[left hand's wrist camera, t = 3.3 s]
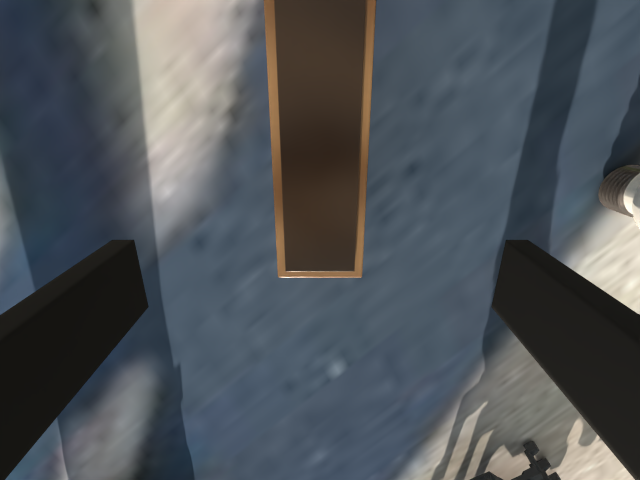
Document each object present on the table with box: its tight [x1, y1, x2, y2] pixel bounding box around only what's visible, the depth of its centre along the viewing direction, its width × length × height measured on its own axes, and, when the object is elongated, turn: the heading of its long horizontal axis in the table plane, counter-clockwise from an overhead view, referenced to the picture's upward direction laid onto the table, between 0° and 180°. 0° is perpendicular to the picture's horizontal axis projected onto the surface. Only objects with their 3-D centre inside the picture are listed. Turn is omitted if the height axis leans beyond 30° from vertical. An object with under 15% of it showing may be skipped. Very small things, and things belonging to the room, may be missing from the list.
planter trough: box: [264, 0, 376, 277], centre depth 20 cm, size 28×5×10 cm, turn 0°
